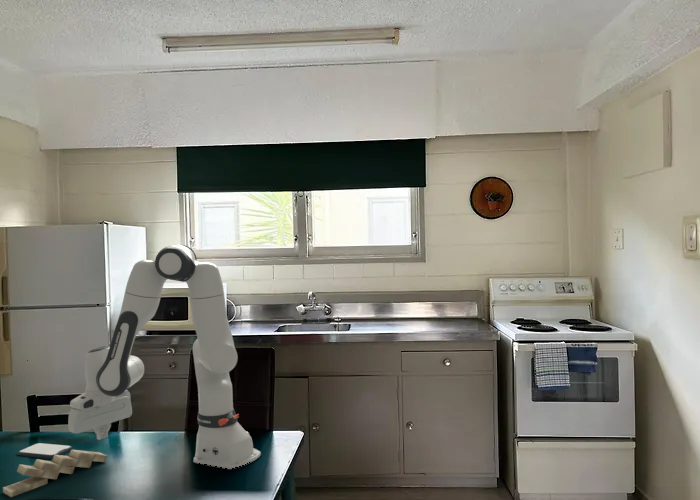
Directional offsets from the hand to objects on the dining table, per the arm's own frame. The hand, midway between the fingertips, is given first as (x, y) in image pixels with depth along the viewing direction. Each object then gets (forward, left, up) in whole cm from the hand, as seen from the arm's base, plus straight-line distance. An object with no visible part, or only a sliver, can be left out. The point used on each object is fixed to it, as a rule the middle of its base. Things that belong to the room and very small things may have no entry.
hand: (102, 438), depth 176 cm
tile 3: (0, +11, -6) cm, 12 cm away
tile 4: (0, +15, -6) cm, 16 cm away
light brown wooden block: (0, +5, -6) cm, 8 cm away
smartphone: (+24, +7, -8) cm, 26 cm away
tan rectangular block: (0, 0, -6) cm, 6 cm away
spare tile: (0, +18, -7) cm, 20 cm away
